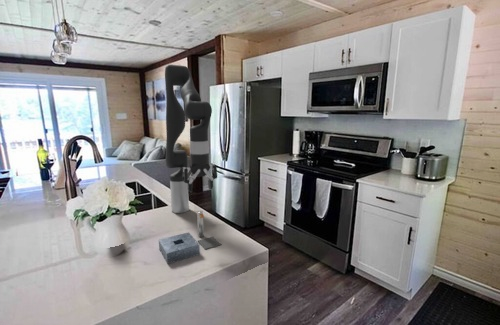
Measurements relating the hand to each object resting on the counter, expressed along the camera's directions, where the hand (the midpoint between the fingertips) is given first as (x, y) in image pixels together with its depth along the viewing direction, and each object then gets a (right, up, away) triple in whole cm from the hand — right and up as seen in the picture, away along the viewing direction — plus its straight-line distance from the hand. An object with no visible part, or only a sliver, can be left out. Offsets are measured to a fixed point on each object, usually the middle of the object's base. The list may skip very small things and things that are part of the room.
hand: (200, 190), depth 108 cm
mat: (+4, -21, -2) cm, 22 cm away
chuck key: (-1, -20, +4) cm, 21 cm away
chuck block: (-7, -23, -9) cm, 25 cm away
